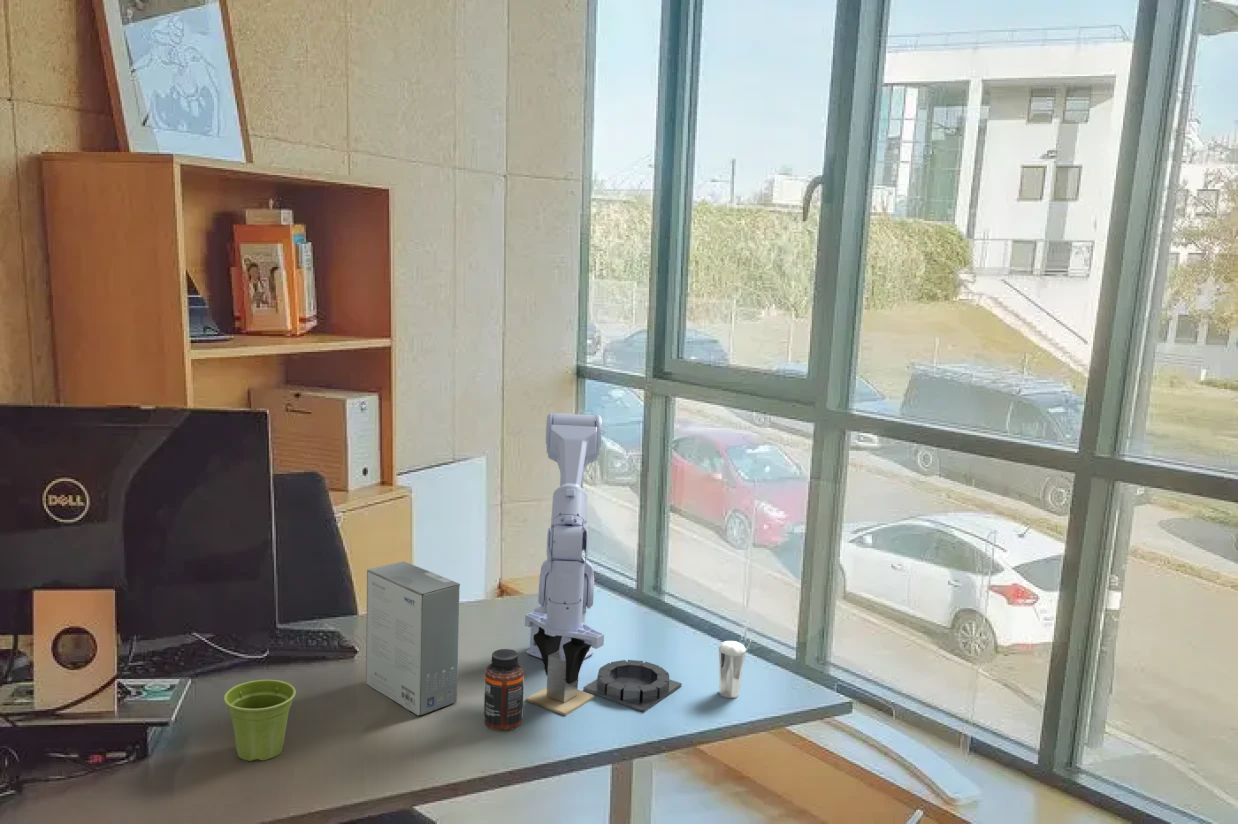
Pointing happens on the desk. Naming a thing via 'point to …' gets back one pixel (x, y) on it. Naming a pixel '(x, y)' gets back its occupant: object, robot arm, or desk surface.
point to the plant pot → (259, 717)
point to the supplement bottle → (503, 691)
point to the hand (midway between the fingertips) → (561, 677)
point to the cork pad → (557, 705)
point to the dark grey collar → (633, 684)
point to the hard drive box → (412, 636)
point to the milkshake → (730, 668)
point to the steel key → (559, 678)
